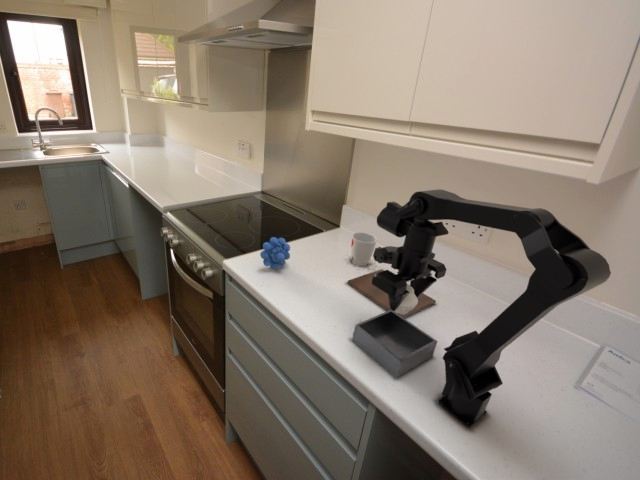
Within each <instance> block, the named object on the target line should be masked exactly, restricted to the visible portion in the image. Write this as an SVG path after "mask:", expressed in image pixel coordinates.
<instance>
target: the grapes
mask: <svg viewBox="0 0 640 480" xmlns="http://www.w3.org/2000/svg"><path fill="white" fill-rule="evenodd" d="M262 248H263V250H261V252H260V254H259V255H260V258H261V259H262V263H263V266H265V267H270V269H272V270H276V269H278V267H280V268H281V267H282V268H283V267H284V266H285V265H286V261H288V260H289V259H290V258H291V254H290V250H291V246H290V244H289V243H286V239H285V238H284V237H279V238H277V237H276V236H272V237H270V239H269V242H268V241H266V242H263V244H262Z"/></svg>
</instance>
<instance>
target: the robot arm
mask: <svg viewBox="0 0 640 480" xmlns="http://www.w3.org/2000/svg"><path fill="white" fill-rule="evenodd" d="M408 200H409V201H407V203H405V204H403V205H401V204H400V203H398V202H396V201H388V202H387V203H386V206H385V207H384V208H382V210H380V211H379V213H378V215H377V216H376V225H377V226H378V227H379V228H380V229H382V230H384V231H386V232H388V233H390V234H392V235H393V236H395V237H397V238H403V237H404V241H403V244H402V245H401V246H392V245H388V246H384V247H381V246H378V247H375V248H374V251H373V253H372V257H373V260H374V261H375V262H377V263H378V264H388V265H390V268H391V269H393V270H397V272H396V273H394V272H392V271H391V270H389V269H386V270H384V271H382V272H379V273H377V274H374V275H373V277H372V284H373V285H374V286H376V287H377V288H379V289H380V290H382V291H384V292H385V293H387V294H388V298H389V304H390V309H391V310H393V311H395V310H396V309H397V308H398V307H399V305H400V304H401V303H402V301H403V300H404V299H405V297H406V296H407V295H408V293H409V291H407V290H406V288H407V284H408V283H409V282H410V283H409V285H410V286H411V287H412V288H413V289H414V294H415V295H416V297H417V298H418V297H419V296H420V295H421V294H422V293H424V292H426V291H427V290H428V289H429V288H430V287H431V286H433V284H435V283H436V282H438V280H439V279H441V278H444V277H445V276H446V272H447V268H446V265H445V264H444V263H443V262H440V261H438V260H437V259H435V257H436V253H434V252H433V249H434V246H435V243H436V238H437V237H441V236H446V235H449V234H450V233H449V231H448V228H447V227H446V226H445V225H444V223H443V220H446V221H448V220H449V221H457V222H460V223H467V224H471V225H476V226H480V227H486V228H491V229H496V230H501V231H505V232H510V233H515V234H516V236H517V237H518V238H519V239H520V242H521V244H522V247H523V250H524V253H525V256H526V258H527V260H528V261H529V262H530V264H531V265H532V267H534V270H533V272H532V273H531V274H530V276H529V279H528V282H527V286H526V289H525V291H523V293H521V294H520V295H519V296H518V297H517V298H516V299H515V300H514V301H513V302H511V304H509V305H508V306H507V307H506V308H505V309H504V310H503V311H502V312H501V313H500V314H498V316H497V317H495V318H494V319H493V320H492V321H491V322H490V323H489V324H487V326H485V328H483V329H482V330H481V331H480V332H478V331H477V330H473V331H471V332H468V333H466V334H465V333H464V334H463V335H459V336H457V337H455V339H453V341H452V342H451V344H450V345H449V346H447V347H444V348H443V350H444V351H446V352H445V353H444V354H443V357H442V359H443V361H444V371H445V373H444V374H445V383H444V387H443V389H442V392H441V396H442V397H440V398H439V399H438V401H437V403H438V405H440V406H441V407H442V408H444V409H445V410H446V411H447V412H449V413H450V414H451V415H452V416H453V417H454V418H455V419H457V420H458V421H459V422H461V423H462V425H464V426H466V427H467V428H469V429H470V428H472V427H473V426H475V424H476V423H478V422H479V421H480V420H481V419H482V418H484V417H485V416H486V415H487V413H488V411H487V410H486V408H487V406H488V404H489V402H490V399H491V397H492V393H491V391H492V390H495V389H497V388H500V387H501V386H502V385H503V381H502V378H501V376H500V374H499V372H498V370H497V368H496V365H497V364H498V362H499V360H500V358H501V354H502V352H503V350H504V349H506V348H507V347H508V346H509V345H511V344H512V343H513V342H514V341H516V340H518V338H519V337H521V336H522V335H523V334H525V332H527V331H528V330H529V329H530V328H532V327H533V326H534V325H535V324H537V323H539V321H540V320H542V319H543V318H544V317H545V316H547V315H548V314H549V313H551V311H553V310H554V309H555V308H557V307H558V306H559V305H561V304H564V303H565V302H568V301H570V300H572V299H574V298H576V297H578V296H580V295H583V294H584V293H586V292H589V291H591V290H593V289H594V288H597V287H598V286H600V285H602V284H604V283H605V282H607V281H608V279H610V277H611V274H612V271H611V269H610V264H609V263H608V261H607V259H606V258H605V257H604V256H603V255H602V254H601V253H599V252H597V251H595V250H594V249H591V248H590V246H589V245H588V244H587V243H586V242H585V241H584V240H583V239H582V237H580V236H579V235H578V234H575V233H574V232H573V231H572V230H570V229H569V228H568V227H566V225H564V224H562V223H561V222H560V221H559V220H558V219H557V217H556V216H555V215H554V214H553V213H552V212H550V211H549V210H547V209H544V208H540V207H536V208H531V207H523V206H516V205H510V204H503V203H502V204H501V203H495V202H487V201H481V200H474V199H467V198H464V197H461V196H459V194H456V193H454V192H451V191H448V190H445V189H441V188H440V189H439V188H438V189H427V190H419V191H415V192H414V193H413V194H411V196H410V198H409V199H408ZM434 221H438V222H434ZM432 272H434V276H433V273H432Z"/></svg>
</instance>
